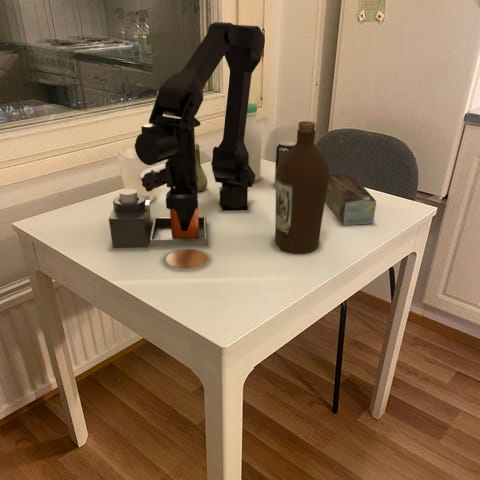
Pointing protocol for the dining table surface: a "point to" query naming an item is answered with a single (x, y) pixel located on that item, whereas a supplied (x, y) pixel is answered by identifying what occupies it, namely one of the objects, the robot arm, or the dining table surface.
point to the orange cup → (176, 228)
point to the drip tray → (164, 237)
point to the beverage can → (282, 151)
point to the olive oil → (301, 194)
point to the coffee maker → (130, 223)
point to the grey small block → (147, 205)
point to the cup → (133, 171)
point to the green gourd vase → (200, 171)
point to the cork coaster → (186, 259)
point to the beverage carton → (350, 200)
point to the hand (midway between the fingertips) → (184, 224)
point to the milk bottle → (253, 140)
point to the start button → (128, 196)
